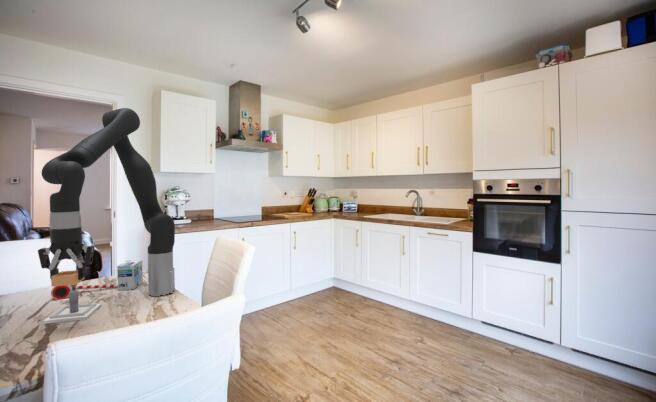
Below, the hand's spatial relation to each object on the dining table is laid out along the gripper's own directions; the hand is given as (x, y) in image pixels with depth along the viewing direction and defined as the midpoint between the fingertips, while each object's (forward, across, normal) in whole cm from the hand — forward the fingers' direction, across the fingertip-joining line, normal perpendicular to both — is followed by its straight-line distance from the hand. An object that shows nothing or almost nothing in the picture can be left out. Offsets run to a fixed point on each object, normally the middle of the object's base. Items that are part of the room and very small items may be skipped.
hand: (68, 279), depth 97 cm
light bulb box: (+16, -5, -41) cm, 44 cm away
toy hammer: (+16, +12, -39) cm, 43 cm away
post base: (+15, +4, -12) cm, 20 cm away
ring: (+1, 0, 0) cm, 1 cm away
